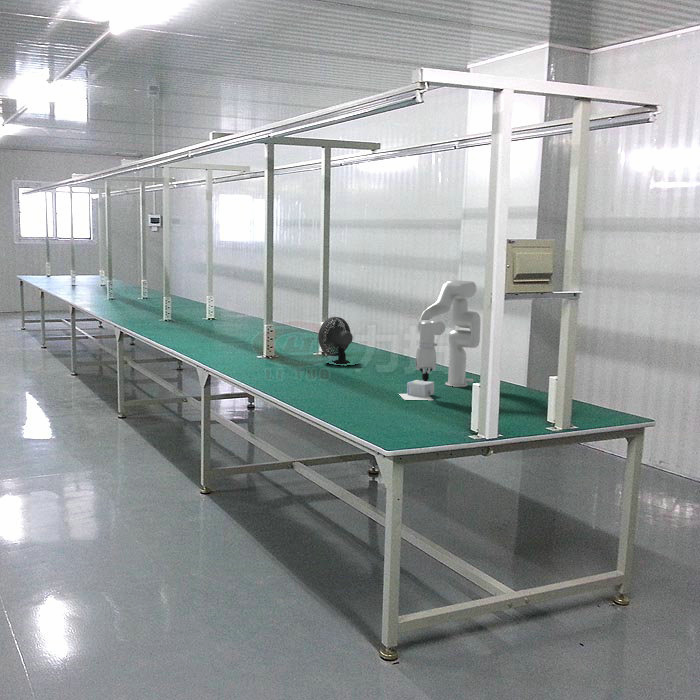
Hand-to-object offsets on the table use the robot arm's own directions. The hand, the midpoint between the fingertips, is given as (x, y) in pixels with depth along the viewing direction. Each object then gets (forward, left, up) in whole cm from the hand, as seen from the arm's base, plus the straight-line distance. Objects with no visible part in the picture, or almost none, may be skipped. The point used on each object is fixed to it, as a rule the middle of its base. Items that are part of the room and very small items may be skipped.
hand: (425, 380), depth 393 cm
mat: (+5, 0, -9) cm, 10 cm away
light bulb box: (-3, -2, -5) cm, 6 cm away
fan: (+28, -111, -9) cm, 115 cm away
